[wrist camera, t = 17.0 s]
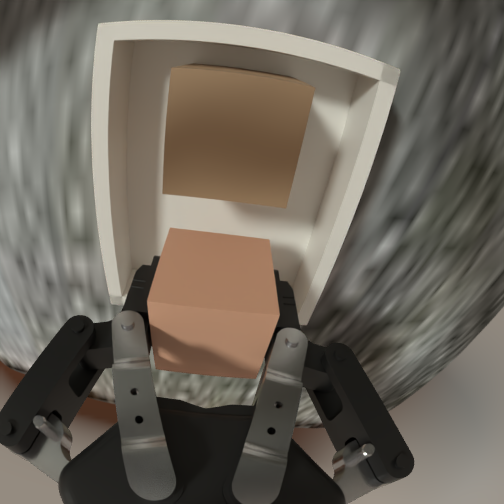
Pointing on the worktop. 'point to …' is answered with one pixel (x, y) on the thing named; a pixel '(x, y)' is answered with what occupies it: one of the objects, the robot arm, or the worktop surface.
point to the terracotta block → (213, 304)
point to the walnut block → (233, 133)
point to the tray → (219, 211)
